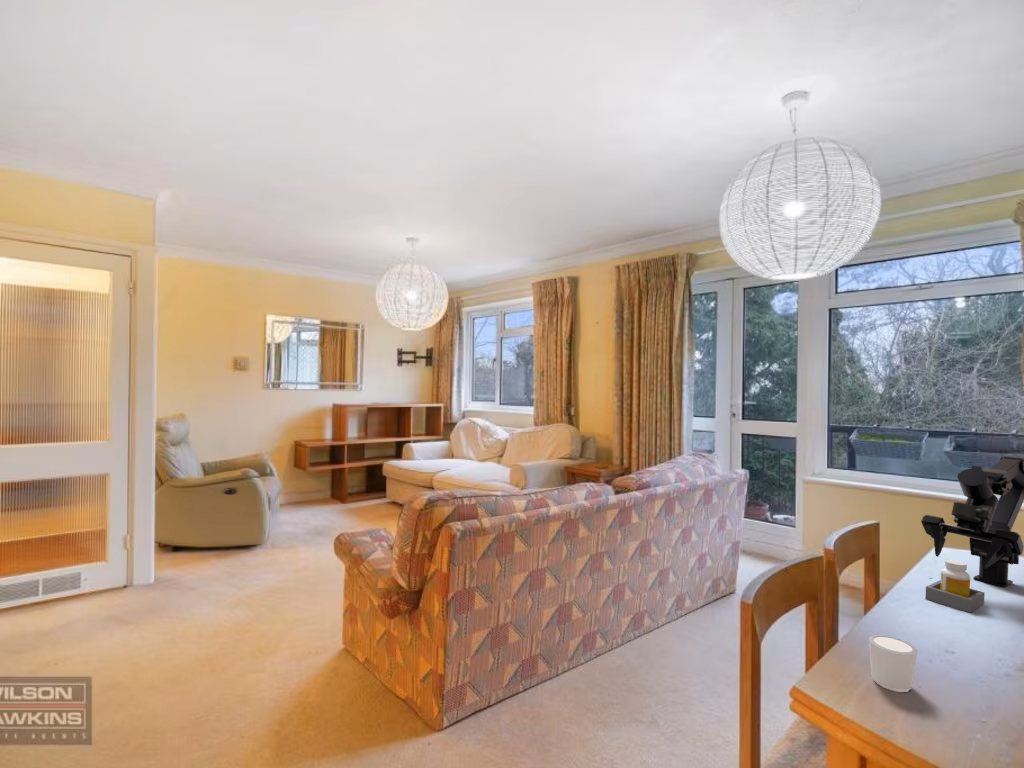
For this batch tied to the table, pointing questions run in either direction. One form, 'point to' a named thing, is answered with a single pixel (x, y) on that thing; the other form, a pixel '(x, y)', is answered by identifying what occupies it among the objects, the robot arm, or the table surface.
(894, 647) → the white cylinder
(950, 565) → the supplement bottle
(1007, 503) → the robot arm
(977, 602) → the frame
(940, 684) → the table surface
